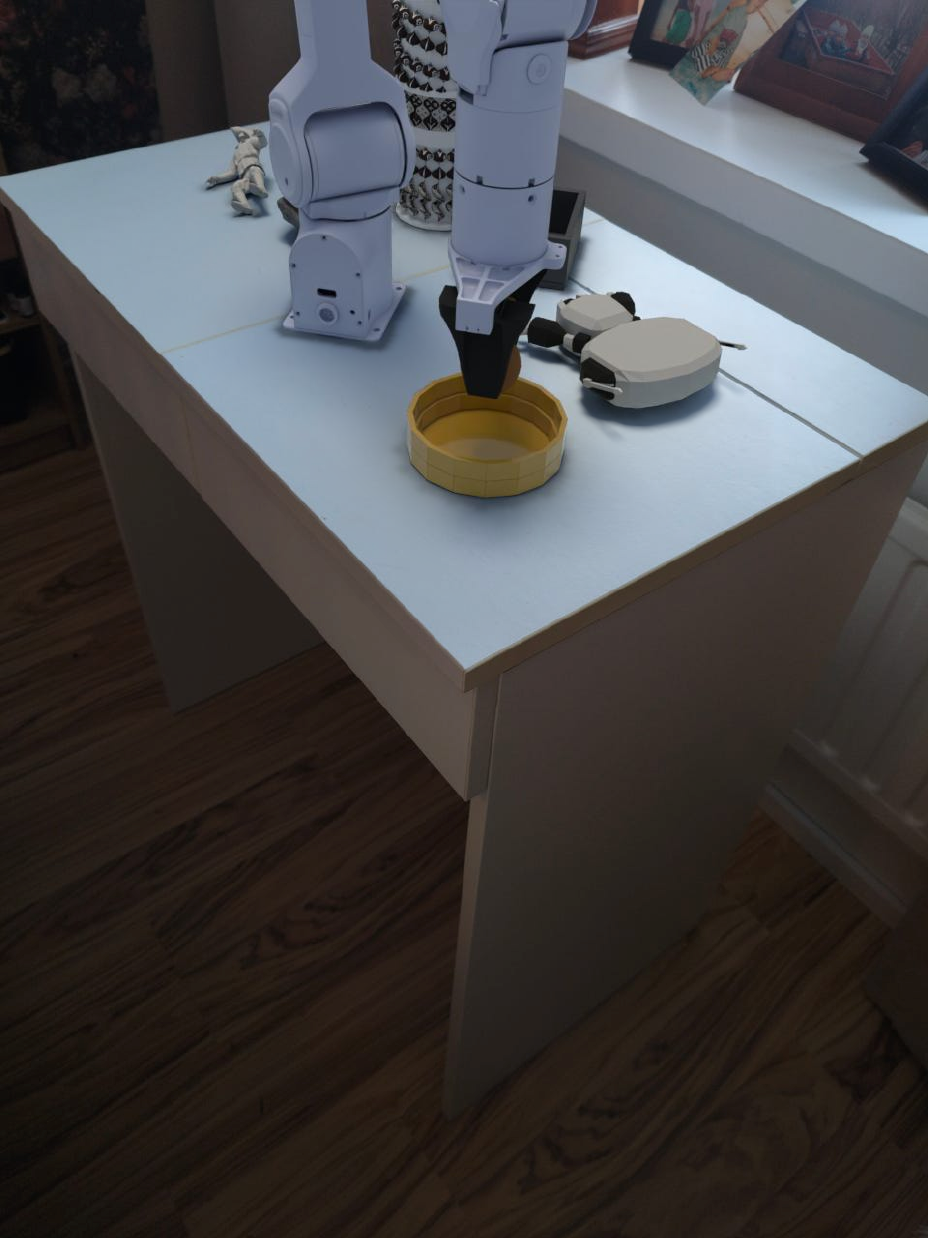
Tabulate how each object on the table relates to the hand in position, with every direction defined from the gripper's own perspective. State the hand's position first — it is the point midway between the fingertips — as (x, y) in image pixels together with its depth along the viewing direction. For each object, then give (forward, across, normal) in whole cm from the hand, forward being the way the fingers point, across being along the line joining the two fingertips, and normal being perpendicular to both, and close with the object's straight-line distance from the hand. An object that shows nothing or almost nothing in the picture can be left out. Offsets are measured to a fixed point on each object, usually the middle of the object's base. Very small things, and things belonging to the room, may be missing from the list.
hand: (489, 376), depth 67 cm
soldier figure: (+6, +36, +31) cm, 48 cm away
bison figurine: (+6, +27, +20) cm, 34 cm away
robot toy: (+6, +13, -8) cm, 16 cm away
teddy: (+1, 0, 0) cm, 1 cm away
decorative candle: (+6, +37, +12) cm, 39 cm away
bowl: (+6, 0, 0) cm, 6 cm away
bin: (+6, +30, +2) cm, 31 cm away
